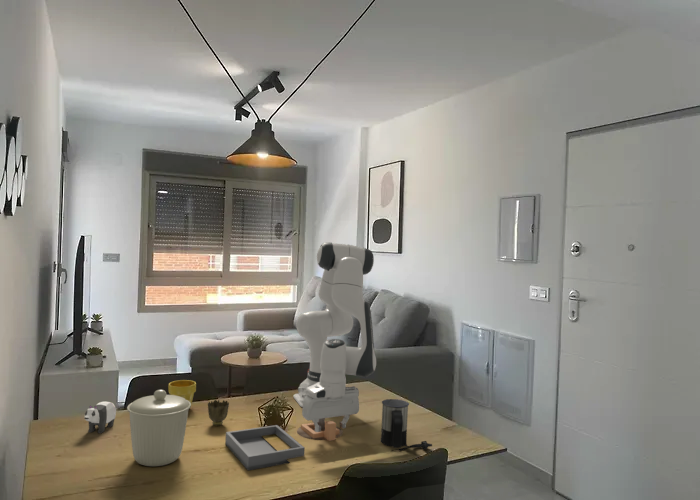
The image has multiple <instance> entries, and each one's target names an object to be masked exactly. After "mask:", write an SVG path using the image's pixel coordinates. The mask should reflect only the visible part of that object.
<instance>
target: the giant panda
mask: <svg viewBox="0 0 700 500" xmlns="http://www.w3.org/2000/svg"><path fill="white" fill-rule="evenodd" d="M116 415H117V410H116V406H115V404H114V403H113V402H110V401H100V402H98V403H97V404H96V405H94V406H92V405H89V408H87V409H86V411H85V413H84V416H83V417H84V418H83V419H84V421H86V422H88V430H87V433H94V432H95V431H96V426H97V427H98V430H97V433H98V434H102V433H104V432H105V428H112V427H113V426H114V423H115V419H116Z"/></svg>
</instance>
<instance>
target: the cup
mask: <svg viewBox="0 0 700 500" xmlns="http://www.w3.org/2000/svg"><path fill="white" fill-rule="evenodd" d="M229 405H230V402H228V400H222V401H220V400H219V399H218V400H217V399H214V400H211V401H208V402H207V411H208V412H207V413H208V417H209V418H208V419H210V420H211V421H212V425H213V426H215V427H218V426H219V427H220V426H222V425H223V424H224V420H225V419H226V418H227V416H228V414H229V407H230V406H229Z"/></svg>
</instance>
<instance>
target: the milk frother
mask: <svg viewBox="0 0 700 500" xmlns="http://www.w3.org/2000/svg"><path fill="white" fill-rule="evenodd" d="M381 404H382V409H381V410H382V411H381V431H380V432H381V435H380V443H381V444H382V445H384V446H387V447H391V448H395V449H392V450H391V451H392V452H393V451H394V452H395V451H396V452H399V451H404V450H406V449H413V448H414V449H415V448H419V449H420V448H421V450H428V448H429V447H433V443H428V441H427V440H424V441H421V442H420V443H418V444H417V443H416V444H414V443H413V444H411V445H408V444H407V442H408V441H407V439H408V438H407V437H408V436H407V435H408V434H407V433H408V416H409V413H408V412H409V405H410V403H409V402H408V401H406V400H404V399H397V398H389V399H388V398H387V399H384V400H382V401H381Z"/></svg>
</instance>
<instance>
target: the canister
mask: <svg viewBox="0 0 700 500" xmlns="http://www.w3.org/2000/svg"><path fill="white" fill-rule="evenodd" d="M190 407H192V404H191V403H190V402H189V401H188V400H186V399H184V398H182V397H180V396H175V395H170V394H167V392H166V390H164V389H157V390H155V391H154V392H153V395H147V396H142V397H140V398H137V399H135V400H134V401H133V402H131V403H129V404H128V405H127V407H126V410H127V412H128V414H129V427H130V437H131V439H130V440H131V448H132V455H133V458H134V460H135V462H136V463H138V464H139V465H141V466H146V467H162V466H166V465H169V464H171V463H174V462H175V461H176V460H178V459H179V457H180V456H181V454H182V452H183V446H184V440H185V434H186V428H187V422H188V416H189V408H190ZM190 409H191V408H190Z"/></svg>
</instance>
